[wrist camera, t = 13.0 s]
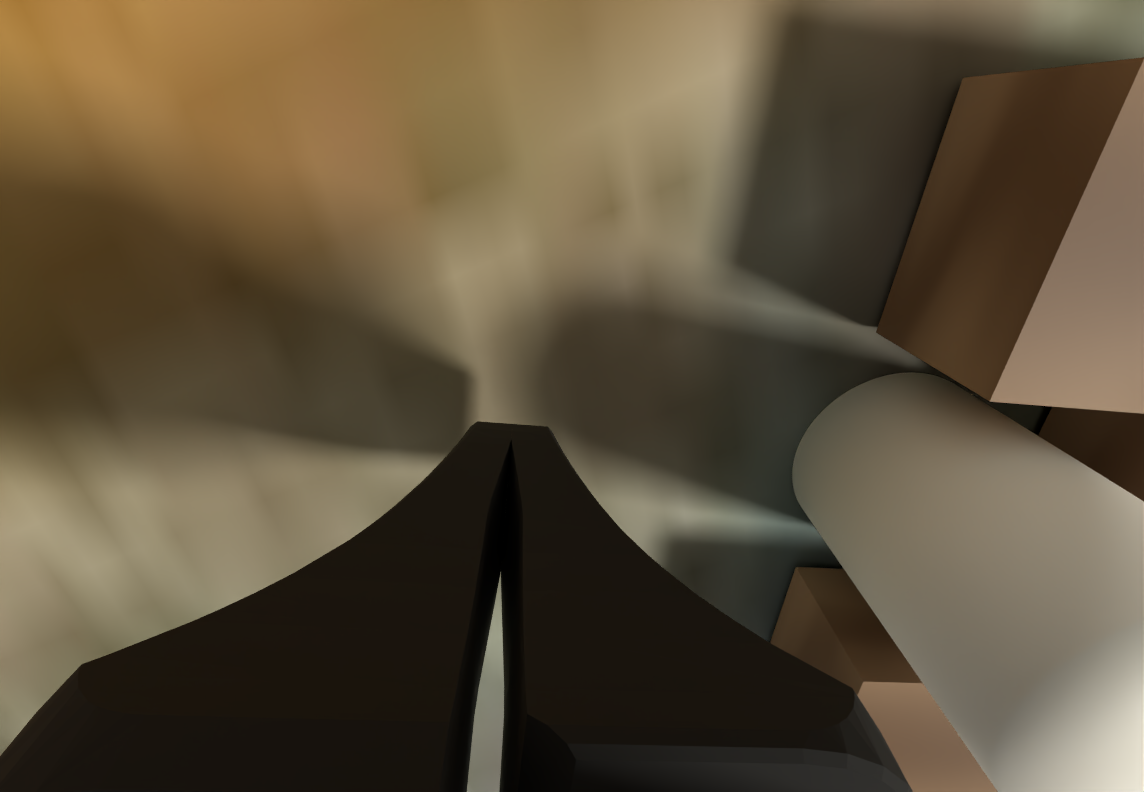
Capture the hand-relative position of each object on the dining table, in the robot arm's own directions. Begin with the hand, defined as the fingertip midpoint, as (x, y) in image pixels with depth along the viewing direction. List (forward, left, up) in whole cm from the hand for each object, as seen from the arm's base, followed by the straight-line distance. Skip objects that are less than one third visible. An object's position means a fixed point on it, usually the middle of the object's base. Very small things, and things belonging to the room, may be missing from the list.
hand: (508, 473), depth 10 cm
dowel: (0, -8, -1) cm, 8 cm away
